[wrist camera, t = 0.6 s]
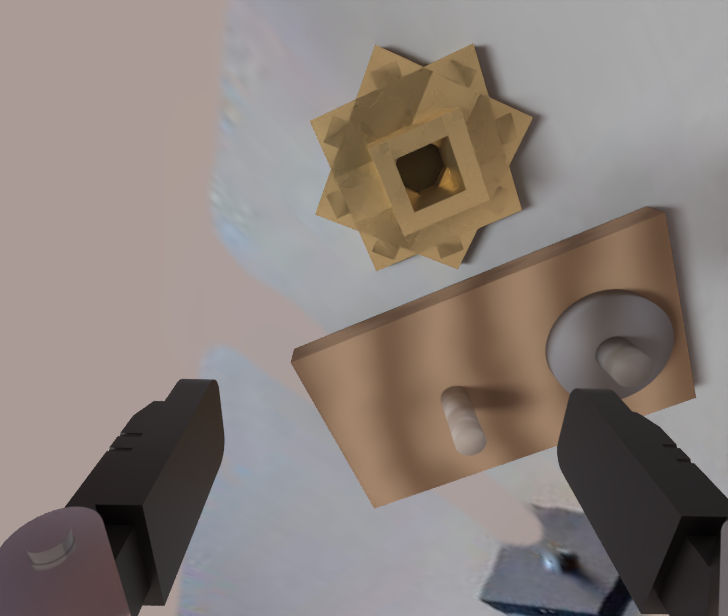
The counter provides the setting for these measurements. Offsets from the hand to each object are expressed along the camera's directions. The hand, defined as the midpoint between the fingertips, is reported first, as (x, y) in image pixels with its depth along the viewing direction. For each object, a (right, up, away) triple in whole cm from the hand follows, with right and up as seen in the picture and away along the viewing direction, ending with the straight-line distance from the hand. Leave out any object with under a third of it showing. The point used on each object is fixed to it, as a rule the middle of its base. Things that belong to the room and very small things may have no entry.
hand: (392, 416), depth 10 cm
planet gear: (+3, +11, +18) cm, 22 cm away
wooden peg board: (+9, -2, +24) cm, 26 cm away
